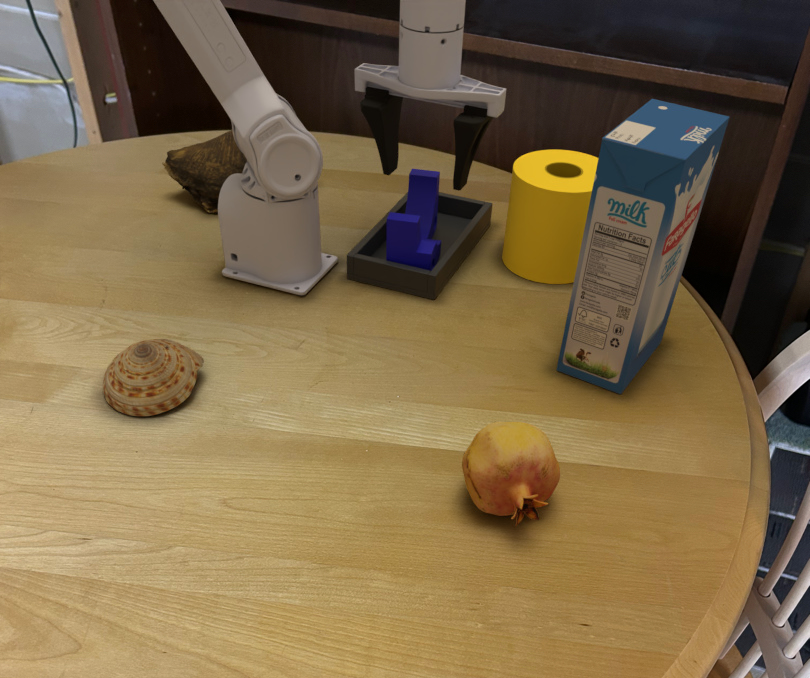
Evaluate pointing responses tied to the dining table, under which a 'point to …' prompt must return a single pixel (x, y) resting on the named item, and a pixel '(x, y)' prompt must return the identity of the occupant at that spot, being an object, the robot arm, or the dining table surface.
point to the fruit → (510, 469)
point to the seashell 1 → (151, 377)
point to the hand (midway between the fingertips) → (424, 178)
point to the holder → (455, 228)
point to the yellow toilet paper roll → (548, 214)
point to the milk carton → (637, 239)
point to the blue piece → (416, 224)
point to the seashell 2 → (206, 168)
